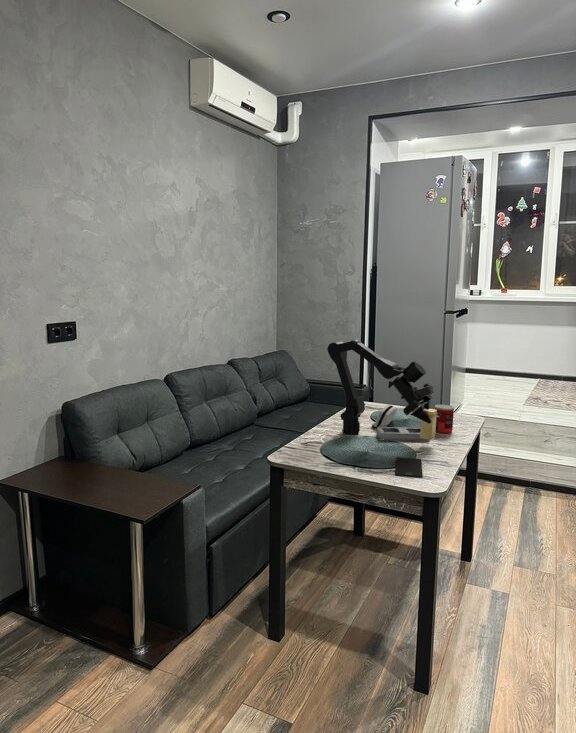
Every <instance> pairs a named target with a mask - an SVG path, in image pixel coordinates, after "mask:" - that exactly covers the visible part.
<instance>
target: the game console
mask: <svg viewBox="0 0 576 733" xmlns="http://www.w3.org/2000/svg"><path fill="white" fill-rule="evenodd" d="M397 411H398V408H397V407H396V406H394V405H391V404H386V405H385V406H384V407H383V408H382V409H381V410H380V412H379V414H378V416H377V418H376V420H375V422H373V423H372V424H371V426H370V428H371V429H372V428H373V427H375V428H377V427H388V425H389V424H391V423H392V422H393V421H394V419H395V416H396V414H397V413H398V412H397ZM392 420H393V421H392ZM391 421H392V422H391ZM390 422H391V423H390Z"/></svg>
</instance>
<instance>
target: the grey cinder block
mask: <svg viewBox="0 0 576 733" xmlns="http://www.w3.org/2000/svg"><path fill="white" fill-rule="evenodd" d="M420 431H421V427H402V426H401V427H397V426H396V427H393V426H391V427H388V426H385V427H379V426H378V427H376V436H377V437H378V438H380V439H384V440H383V441H389V440H393V442H394V441H399V442H400V441H402V442H405V441H406V442H431V440H429V439H423V438H420ZM380 439H379V440H380Z"/></svg>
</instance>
